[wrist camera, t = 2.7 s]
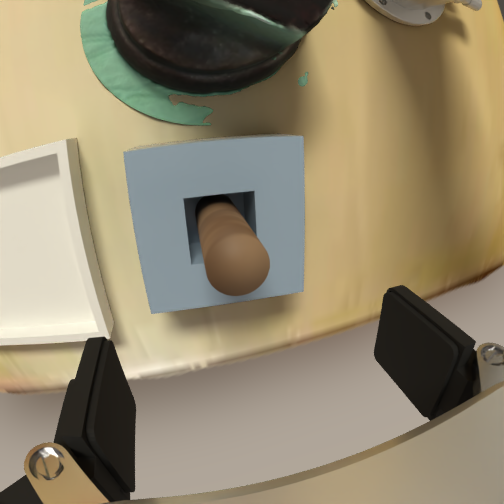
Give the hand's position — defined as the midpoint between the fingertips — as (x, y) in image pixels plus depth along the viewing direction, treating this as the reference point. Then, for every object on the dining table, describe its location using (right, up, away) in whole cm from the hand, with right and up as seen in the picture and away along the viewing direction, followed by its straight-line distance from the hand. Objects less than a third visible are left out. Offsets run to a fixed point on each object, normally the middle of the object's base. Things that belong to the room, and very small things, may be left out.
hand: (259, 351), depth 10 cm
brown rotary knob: (-4, +22, +9) cm, 24 cm away
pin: (-3, +6, +14) cm, 15 cm away
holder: (-3, +7, +15) cm, 16 cm away
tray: (-21, +3, +12) cm, 24 cm away
